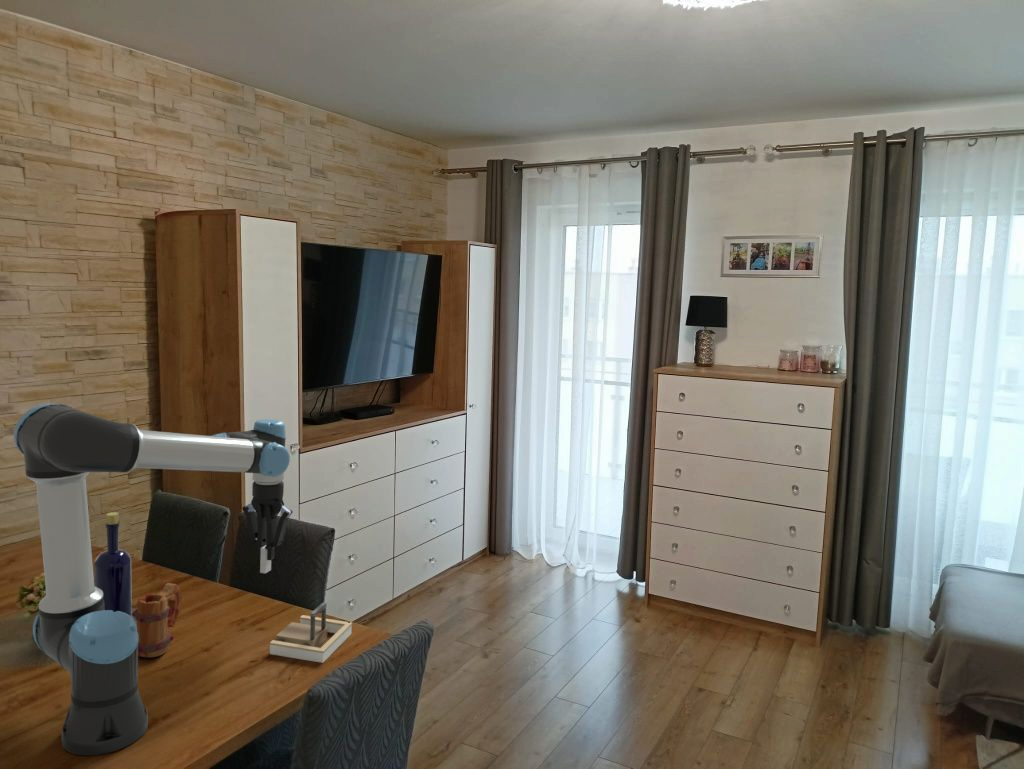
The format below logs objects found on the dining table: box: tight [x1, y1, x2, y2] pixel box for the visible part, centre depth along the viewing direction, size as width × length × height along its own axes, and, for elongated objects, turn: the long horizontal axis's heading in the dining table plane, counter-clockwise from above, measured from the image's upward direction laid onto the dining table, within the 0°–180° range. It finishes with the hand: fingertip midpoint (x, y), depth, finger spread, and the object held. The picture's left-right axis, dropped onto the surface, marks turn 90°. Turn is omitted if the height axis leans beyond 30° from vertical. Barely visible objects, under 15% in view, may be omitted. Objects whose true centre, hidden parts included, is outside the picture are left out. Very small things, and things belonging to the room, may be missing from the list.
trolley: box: [275, 602, 328, 648], centre depth 190 cm, size 10×10×10 cm
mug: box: [132, 582, 182, 658], centre depth 183 cm, size 15×8×15 cm, turn 168°
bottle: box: [93, 511, 133, 618], centre depth 193 cm, size 9×9×30 cm
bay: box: [269, 614, 353, 664], centre depth 190 cm, size 17×14×3 cm
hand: (265, 571), depth 191 cm, fingers closed
